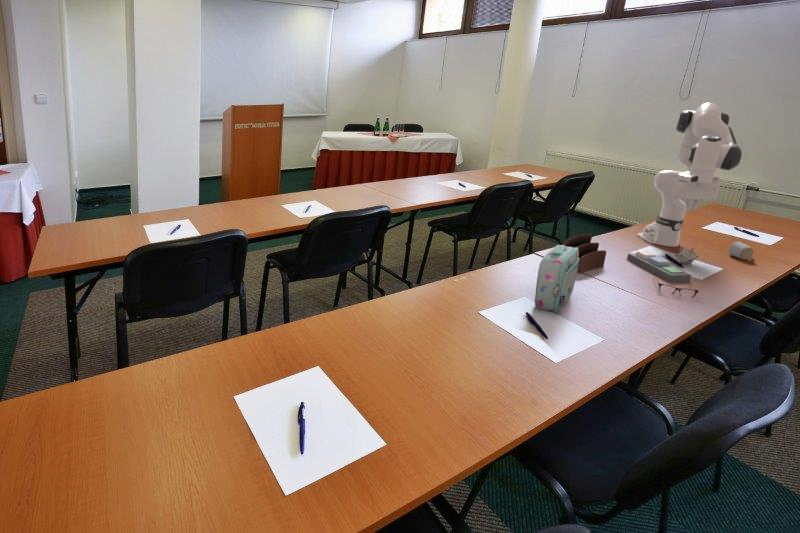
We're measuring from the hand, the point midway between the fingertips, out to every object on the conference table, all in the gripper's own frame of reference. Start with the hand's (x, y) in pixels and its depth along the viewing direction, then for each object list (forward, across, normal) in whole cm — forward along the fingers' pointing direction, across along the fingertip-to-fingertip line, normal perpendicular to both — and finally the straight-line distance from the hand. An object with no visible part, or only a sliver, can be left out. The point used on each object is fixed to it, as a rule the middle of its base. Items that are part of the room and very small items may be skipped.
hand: (690, 209), depth 196 cm
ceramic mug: (+31, -62, -21) cm, 73 cm away
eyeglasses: (+31, +9, +12) cm, 35 cm away
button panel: (+31, 0, -9) cm, 32 cm away
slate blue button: (+29, 0, -9) cm, 30 cm away
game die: (+31, -21, -15) cm, 40 cm away
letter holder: (+31, +36, -14) cm, 49 cm away
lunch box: (+31, +70, +20) cm, 79 cm away
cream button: (+29, 0, -17) cm, 34 cm away
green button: (+30, 0, 0) cm, 30 cm away
